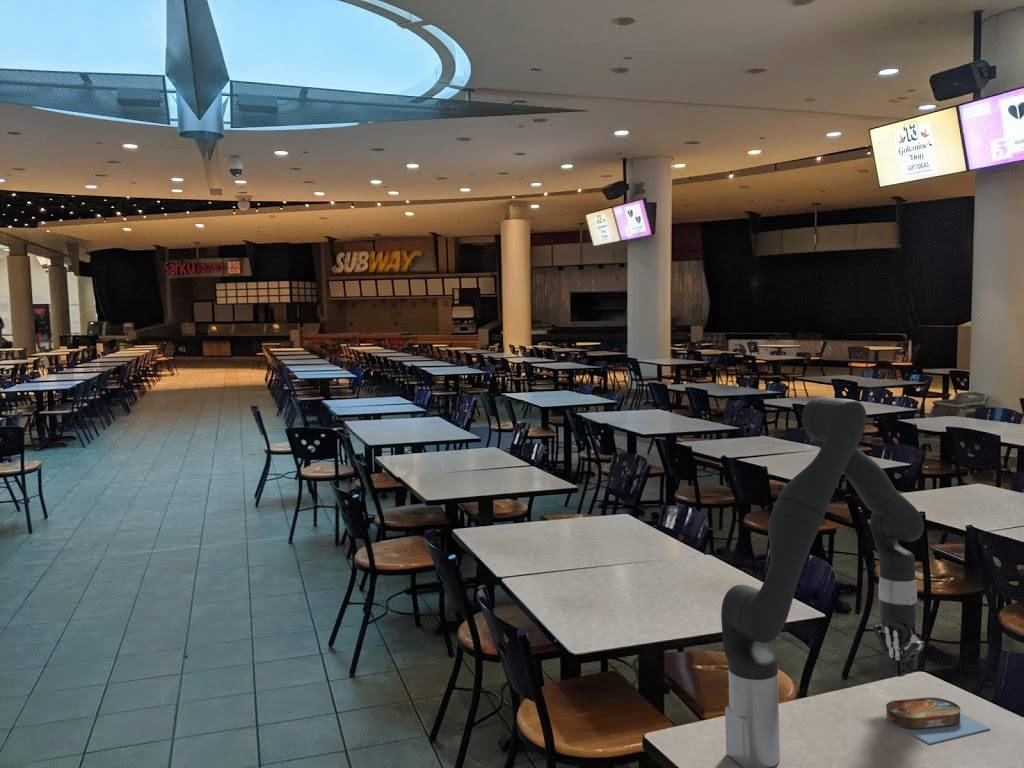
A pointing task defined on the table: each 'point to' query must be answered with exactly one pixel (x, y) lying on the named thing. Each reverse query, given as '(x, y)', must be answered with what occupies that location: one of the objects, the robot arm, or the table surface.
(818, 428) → the robot arm
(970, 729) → the mat
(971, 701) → the table surface
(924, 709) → the tin
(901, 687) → the table surface
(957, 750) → the table surface
